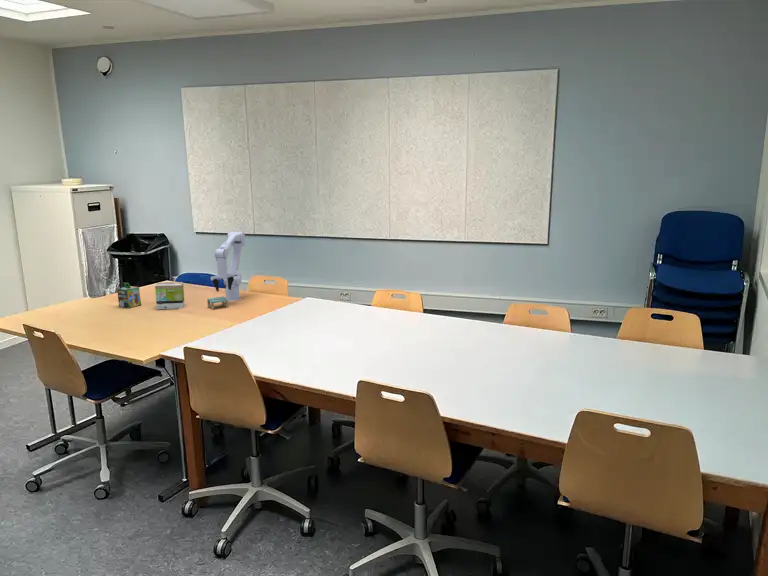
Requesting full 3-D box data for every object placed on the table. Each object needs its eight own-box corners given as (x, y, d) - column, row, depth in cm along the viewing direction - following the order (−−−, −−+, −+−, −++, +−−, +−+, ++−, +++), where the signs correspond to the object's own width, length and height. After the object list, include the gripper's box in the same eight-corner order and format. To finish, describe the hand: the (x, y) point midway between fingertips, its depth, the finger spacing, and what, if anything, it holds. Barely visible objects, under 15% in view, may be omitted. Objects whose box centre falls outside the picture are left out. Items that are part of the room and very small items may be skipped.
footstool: (207, 306, 339) (207, 298, 337) (223, 304, 345) (223, 296, 343) (212, 309, 333) (211, 301, 332) (228, 307, 339) (227, 299, 338)
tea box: (156, 310, 334) (154, 285, 331) (159, 306, 343) (157, 282, 340) (183, 308, 337) (181, 284, 334) (185, 304, 347) (183, 281, 344)
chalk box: (141, 305, 345) (139, 281, 342) (128, 308, 337) (126, 284, 334) (131, 303, 349) (128, 280, 346) (118, 306, 341) (115, 283, 338)
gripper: (213, 270, 334) (214, 293, 337) (236, 268, 342) (237, 289, 345) (208, 269, 339) (210, 291, 342) (231, 266, 348) (233, 287, 351)
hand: (223, 290), depth 344 cm, fingers open, 7 cm apart
